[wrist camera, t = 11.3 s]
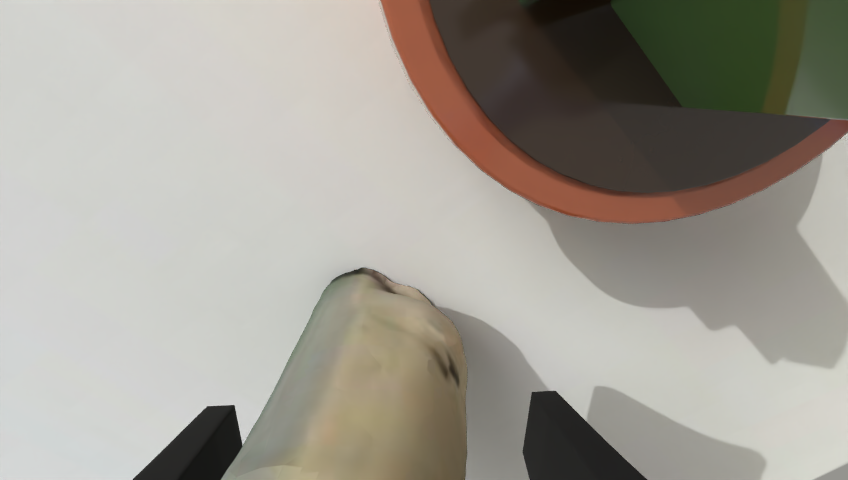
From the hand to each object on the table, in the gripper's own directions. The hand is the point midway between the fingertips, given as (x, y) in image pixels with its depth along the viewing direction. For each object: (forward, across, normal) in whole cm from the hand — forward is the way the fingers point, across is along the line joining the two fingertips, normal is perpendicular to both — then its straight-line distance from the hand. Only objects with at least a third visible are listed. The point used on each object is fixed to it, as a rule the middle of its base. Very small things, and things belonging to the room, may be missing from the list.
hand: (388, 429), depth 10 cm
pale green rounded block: (+5, 0, 0) cm, 5 cm away
